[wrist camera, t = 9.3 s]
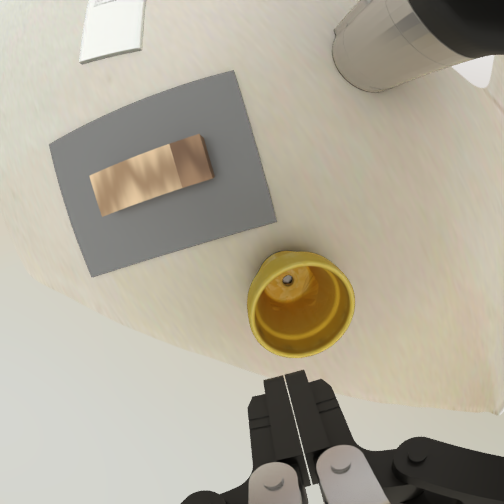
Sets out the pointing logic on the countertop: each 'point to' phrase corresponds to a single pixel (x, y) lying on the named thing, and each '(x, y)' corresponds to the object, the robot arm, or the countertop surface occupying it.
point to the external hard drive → (111, 29)
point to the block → (152, 174)
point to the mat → (173, 203)
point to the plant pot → (299, 304)
